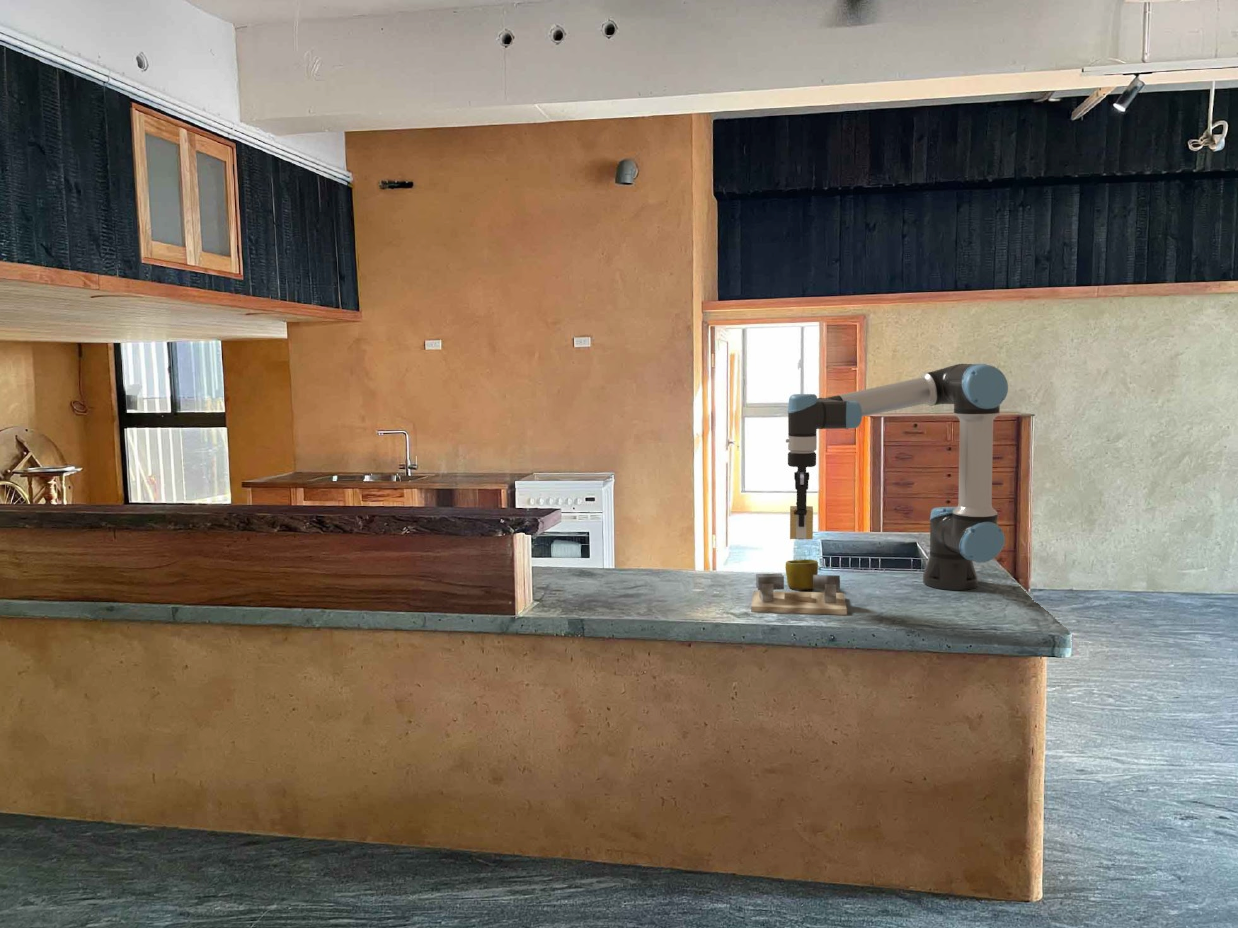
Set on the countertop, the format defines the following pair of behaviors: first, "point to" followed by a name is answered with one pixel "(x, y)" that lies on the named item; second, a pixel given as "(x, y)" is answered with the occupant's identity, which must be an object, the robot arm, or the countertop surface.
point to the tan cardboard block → (808, 524)
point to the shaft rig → (798, 596)
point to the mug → (801, 573)
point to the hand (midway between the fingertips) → (801, 535)
